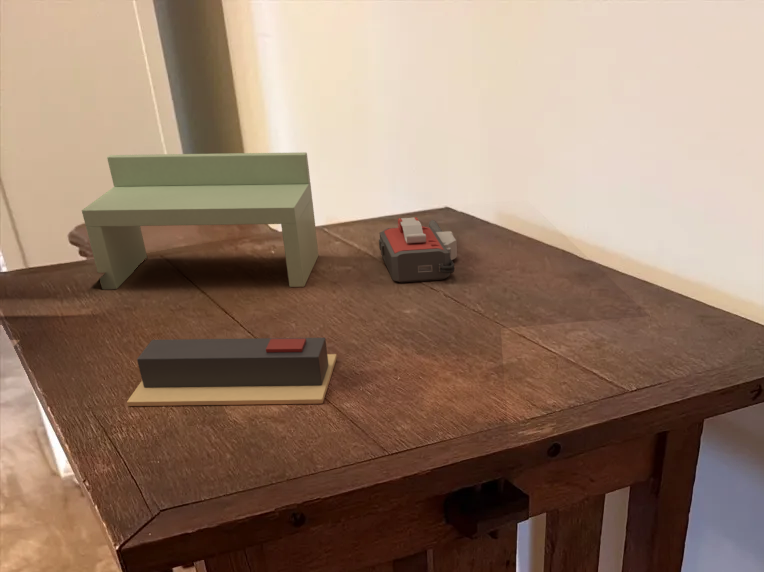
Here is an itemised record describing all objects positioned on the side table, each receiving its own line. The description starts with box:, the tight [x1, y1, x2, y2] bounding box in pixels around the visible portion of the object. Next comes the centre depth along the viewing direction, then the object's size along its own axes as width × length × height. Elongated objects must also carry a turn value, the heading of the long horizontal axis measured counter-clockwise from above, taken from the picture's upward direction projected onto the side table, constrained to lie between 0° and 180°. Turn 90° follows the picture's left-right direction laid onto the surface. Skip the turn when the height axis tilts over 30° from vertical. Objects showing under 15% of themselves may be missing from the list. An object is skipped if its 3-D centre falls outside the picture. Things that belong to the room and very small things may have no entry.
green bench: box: [81, 151, 319, 290], centre depth 100 cm, size 22×12×11 cm, turn 90°
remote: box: [136, 337, 329, 388], centre depth 78 cm, size 15×4×3 cm, turn 90°
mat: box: [126, 353, 338, 407], centre depth 79 cm, size 16×10×1 cm, turn 90°
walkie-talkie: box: [378, 216, 458, 284], centre depth 106 cm, size 9×4×20 cm
